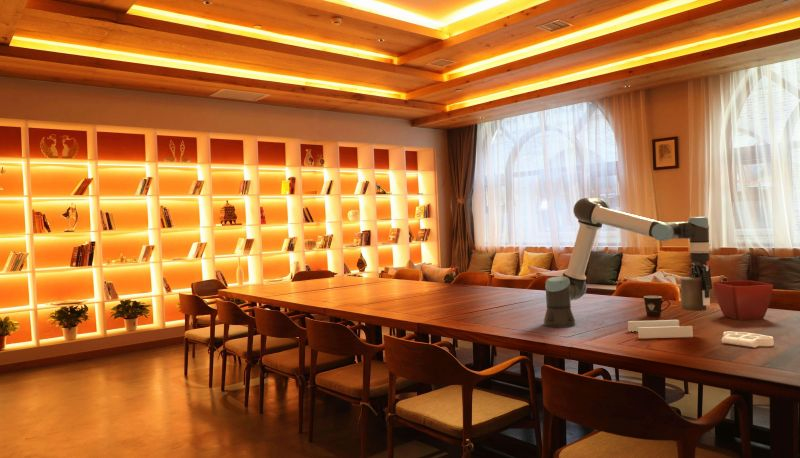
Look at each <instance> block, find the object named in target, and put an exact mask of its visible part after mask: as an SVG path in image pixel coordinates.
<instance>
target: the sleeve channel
mask: <svg viewBox="0 0 800 458" xmlns="http://www.w3.org/2000/svg"><path fill="white" fill-rule="evenodd" d="M627 331H628V332H629V333H631V331H632V332H634V331H636V332H635V333H637V332H638V333H637V335H638V339H658V338H660V339H664V338H665V339H667V338H670V339H671V338H693V337H694V332H693V325H681V326H680V320H679V319H665V320H664V319H660V320H656V319H655V320H630V321H629V320H628V321H627Z"/></svg>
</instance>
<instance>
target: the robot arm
mask: <svg viewBox="0 0 800 458" xmlns="http://www.w3.org/2000/svg"><path fill="white" fill-rule="evenodd" d="M573 215H574V217H575V218H576V219H577V220H578V221H577V223H578V224H579V228H578V231H577V234H576V238H575V242H574V245H573V247H572V248H573V249H572V253H571V256H570V258H569V262H568V265H567V269H565V270H564V271H563V273H562V276H558V275H557V276H552V277H549V278H547V279H546V280H545V286H544V287H545V301H546V311H545V314H544V318H543V325H544V326H546V327H548V328H549V327H550V328H569V327H574V326H576V319H575V316H574V313H573V311H572V306H571V305H572V302H571V301H575V300H579V299H580V298H582V297H583V296H584V295H585V294H586V293H587V289H588V288H587V287H588V284H587V283H586V280H587V276H586V274H585V273H586V271H587V266H588V263H589V259H590V255H591V253H592V249H593V246H594V243H595V239H596V236H597V231H598V230H600V229H602V226H603V225H605V226H609V227H612V228H617V229H621V230H624V231H628V232H631V233H635V234H639V235H642V236H643V235H644V236H646V237H650V238H654V239H655V240H657V241H660V242H666V241H669V240H676V239H677V240H682V239H687V240H688V239H689V251H690V253H689V257H690V259H689V260H690V261H691V262H693V263H690V277H692V275H693V277H699V278H701V279H702V286H703V289H702V299H703V305H706V306H711V298H710V297H711V296H710V295H711V293H710V291H711V290H713V281H712V275H711V266H710V265H707V262H710V260H711V258H710V255H711V253H710V247H711V244H710V225H709V219H708V217H707V216H691V217H689V218H688V221H667V222H663V221H660V220H655V219H651V218H649V217H648V218H647V217H645V216H644V217H643V216H638V215H636V214H630V213H627V212H623V211H619V210H616V209H615V210H614V209H610V205H609V204H608V202H607V201H605V200H604V199H602V198H599V197H584V198H580V199H579V200H577V201H576V202H575V204H574V206H573Z"/></svg>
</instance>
